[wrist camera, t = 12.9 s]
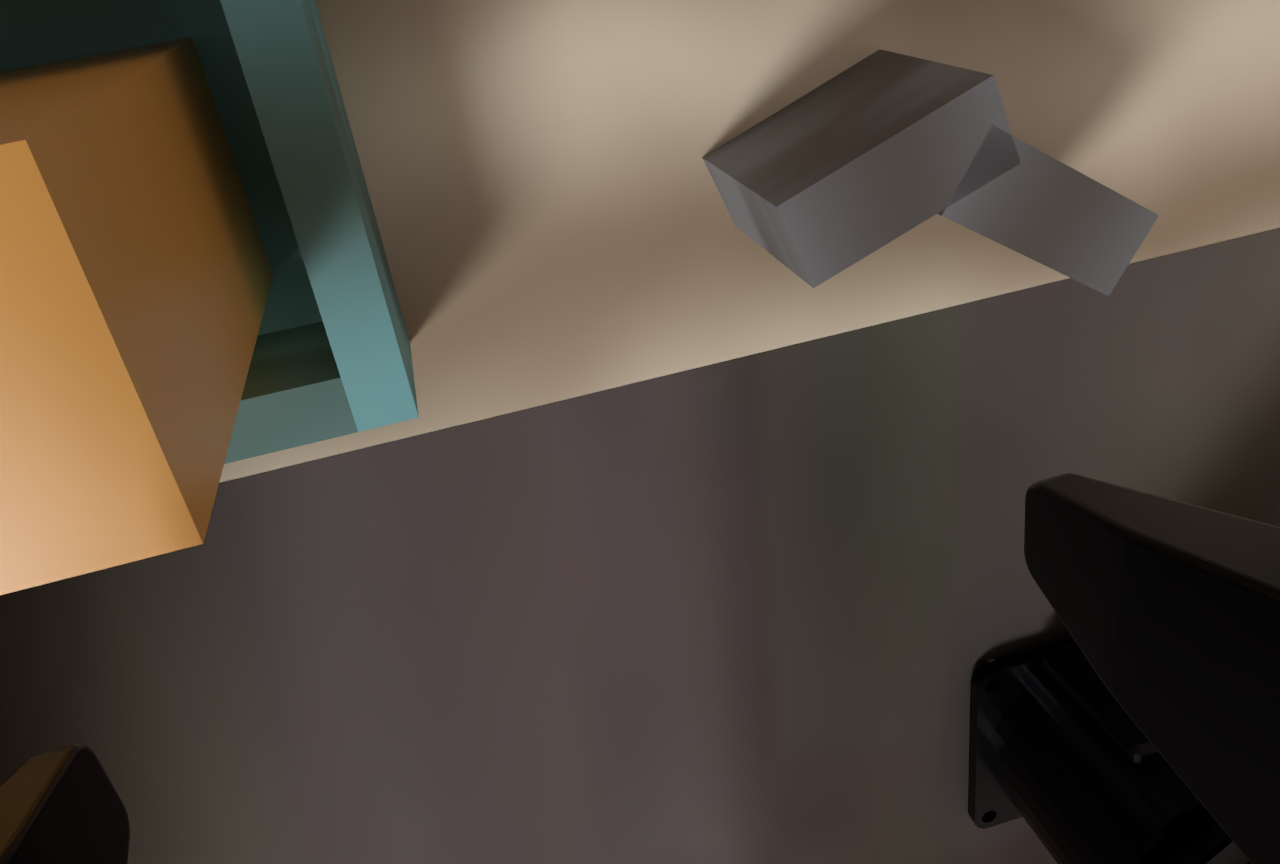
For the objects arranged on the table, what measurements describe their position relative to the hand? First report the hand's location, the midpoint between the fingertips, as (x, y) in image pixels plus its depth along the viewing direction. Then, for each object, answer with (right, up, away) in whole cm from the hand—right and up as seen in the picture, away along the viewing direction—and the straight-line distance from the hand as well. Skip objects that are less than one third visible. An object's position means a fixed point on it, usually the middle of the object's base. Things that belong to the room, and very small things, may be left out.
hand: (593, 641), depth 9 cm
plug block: (-8, +6, +7) cm, 13 cm away
